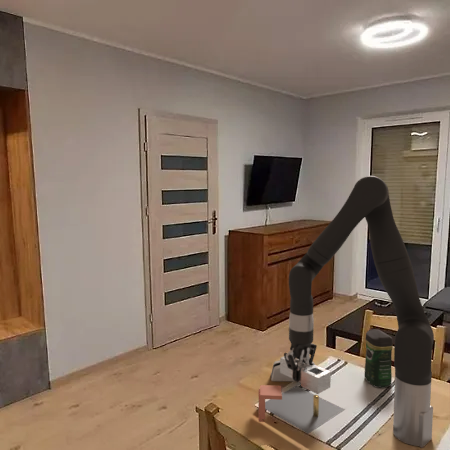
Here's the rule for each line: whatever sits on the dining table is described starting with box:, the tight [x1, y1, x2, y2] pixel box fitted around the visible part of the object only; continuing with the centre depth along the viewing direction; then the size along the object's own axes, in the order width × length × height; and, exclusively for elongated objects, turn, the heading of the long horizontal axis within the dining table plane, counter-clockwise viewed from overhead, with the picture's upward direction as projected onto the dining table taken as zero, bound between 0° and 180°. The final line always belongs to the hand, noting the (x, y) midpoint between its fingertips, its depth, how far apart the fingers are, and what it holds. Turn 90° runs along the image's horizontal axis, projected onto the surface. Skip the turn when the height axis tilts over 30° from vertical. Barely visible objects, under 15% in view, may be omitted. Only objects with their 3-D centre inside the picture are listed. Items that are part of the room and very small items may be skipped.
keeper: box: [258, 384, 283, 423], centre depth 123 cm, size 7×6×8 cm
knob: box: [313, 394, 320, 417], centre depth 122 cm, size 2×2×7 cm
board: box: [265, 385, 346, 434], centre depth 127 cm, size 20×18×1 cm
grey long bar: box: [279, 356, 332, 395], centre depth 125 cm, size 16×6×5 cm, turn 40°
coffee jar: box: [364, 328, 394, 388], centre depth 143 cm, size 10×8×19 cm
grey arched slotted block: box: [270, 359, 316, 382], centre depth 145 cm, size 17×5×10 cm, turn 88°
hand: (300, 378), depth 126 cm, fingers closed on grey long bar, 3 cm apart
